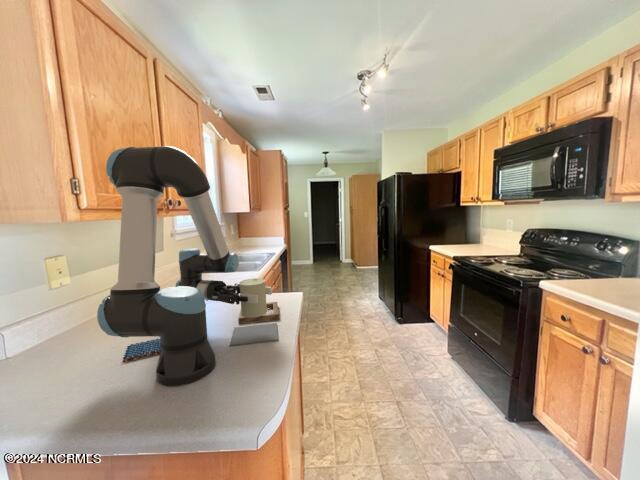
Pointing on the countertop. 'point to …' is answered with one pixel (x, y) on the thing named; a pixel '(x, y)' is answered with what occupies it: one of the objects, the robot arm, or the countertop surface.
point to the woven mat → (142, 350)
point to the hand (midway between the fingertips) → (264, 294)
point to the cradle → (264, 317)
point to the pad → (254, 334)
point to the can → (253, 288)
